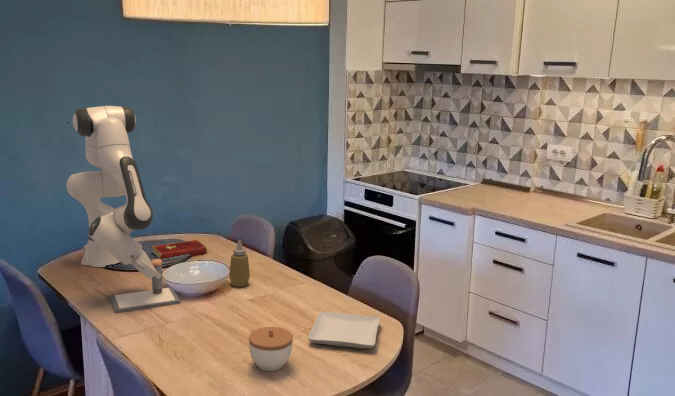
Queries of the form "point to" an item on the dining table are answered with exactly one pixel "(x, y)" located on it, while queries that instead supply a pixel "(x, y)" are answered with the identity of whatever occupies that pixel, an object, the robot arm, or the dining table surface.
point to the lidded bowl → (270, 347)
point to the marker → (155, 281)
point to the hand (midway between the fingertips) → (158, 274)
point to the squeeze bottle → (239, 267)
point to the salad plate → (345, 330)
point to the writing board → (143, 300)
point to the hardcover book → (180, 249)
